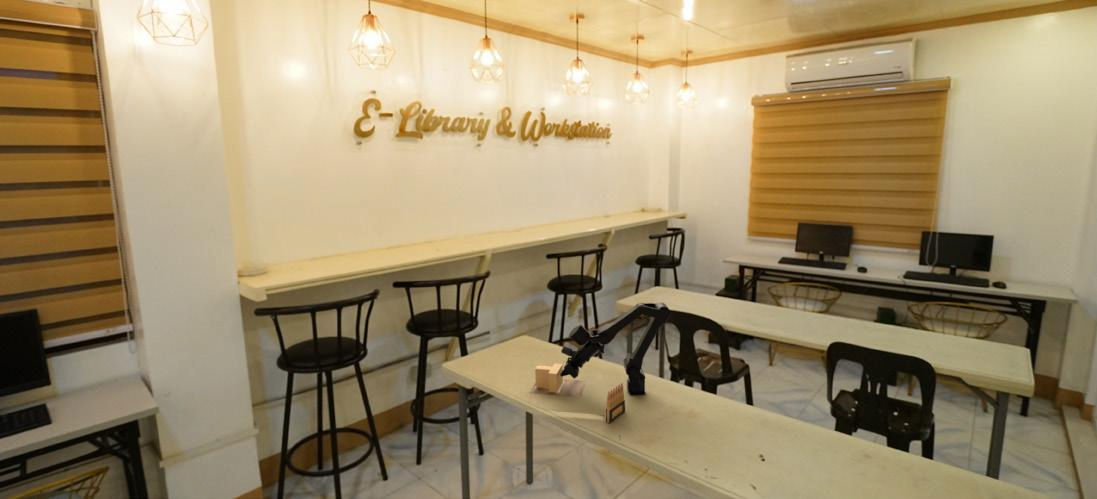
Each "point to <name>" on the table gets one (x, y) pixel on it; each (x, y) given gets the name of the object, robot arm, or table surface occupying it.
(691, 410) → the table surface
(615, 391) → the ammunition clip
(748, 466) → the table surface
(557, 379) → the t block
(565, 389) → the board
